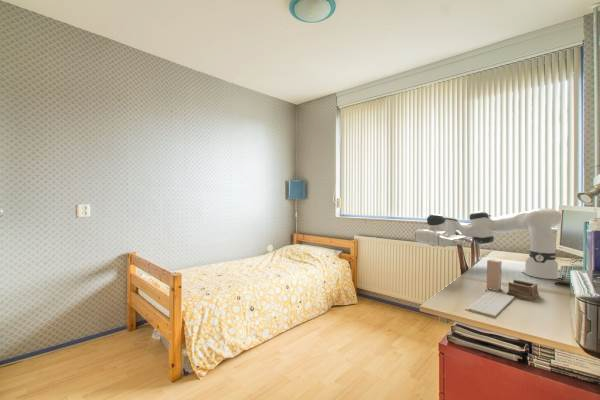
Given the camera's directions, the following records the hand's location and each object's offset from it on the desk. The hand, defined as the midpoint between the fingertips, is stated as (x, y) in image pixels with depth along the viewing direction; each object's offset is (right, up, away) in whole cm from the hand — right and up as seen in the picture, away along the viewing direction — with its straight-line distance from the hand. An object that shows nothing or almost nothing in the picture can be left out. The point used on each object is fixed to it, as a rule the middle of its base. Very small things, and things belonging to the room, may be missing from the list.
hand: (468, 242), depth 157 cm
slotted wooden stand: (+15, -22, -18) cm, 32 cm away
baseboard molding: (-7, -23, -29) cm, 38 cm away
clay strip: (+8, -22, -9) cm, 25 cm away
